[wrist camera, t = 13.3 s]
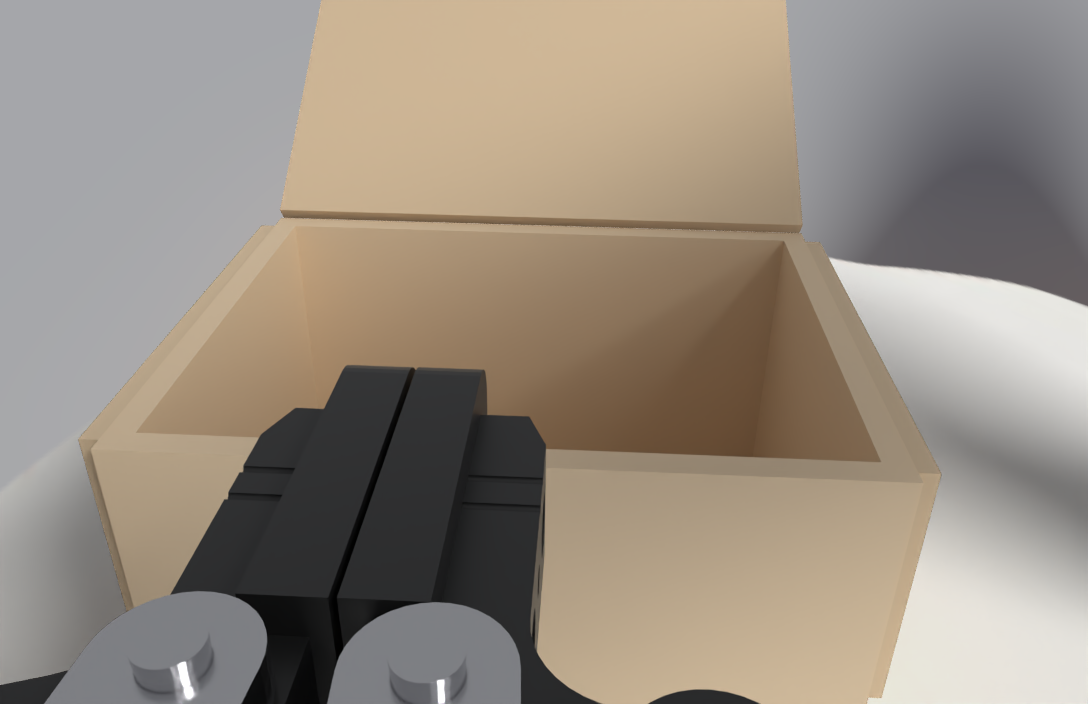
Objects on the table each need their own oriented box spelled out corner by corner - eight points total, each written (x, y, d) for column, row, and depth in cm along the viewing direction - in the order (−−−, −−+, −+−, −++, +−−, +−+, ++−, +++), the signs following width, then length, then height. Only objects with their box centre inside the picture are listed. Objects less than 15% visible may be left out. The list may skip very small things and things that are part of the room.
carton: (772, 511, 38) (817, 233, 32) (852, 837, 26) (950, 484, 20) (304, 491, 39) (265, 217, 33) (167, 797, 26) (66, 448, 21)
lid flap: (802, 225, 32) (799, 233, 32) (780, -72, 38) (777, -62, 38) (280, 209, 33) (283, 217, 33) (336, -80, 38) (339, -70, 39)
